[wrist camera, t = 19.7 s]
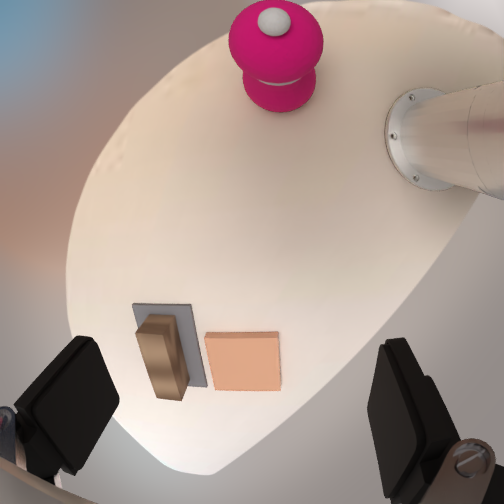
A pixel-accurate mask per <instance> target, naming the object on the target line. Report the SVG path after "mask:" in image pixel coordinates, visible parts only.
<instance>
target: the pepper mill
mask: <svg viewBox="0 0 504 504" xmlns="http://www.w3.org/2000/svg"><path fill="white" fill-rule="evenodd" d="M229 48H230V52H231V55H232V57H233V59H234V60H235V62H236V64H237V65H238V66H239V67H240V68H241V69H242V70H243V84H244V88H245V91H246V92H247V94H248V96H249V97H250V99H251V100H252V101H253V102H254V103H255V104H257V105H258V106H260V107H262V108H263V109H266V110H269V111H273V112H288V111H292V110H295V109H297V108H299V107H301V106H302V105H303V104H305V103H306V102H307V101H308V100H309V98H310V97H311V95H312V94H313V91H314V89H315V84H316V74H315V69H314V67H315V66H316V64H317V63H318V61H319V59H320V57H321V54H322V51H323V34H322V31H321V28H320V26H319V24H318V22H317V20H316V19H315V18H314V17H313V15H312V14H311V13H309V12H308V11H307V10H306V9H305V8H303V7H302V6H300V5H297V4H295V3H292V2H289V1H285V0H263V1H259V2H256V3H254V4H252V5H250V6H249V7H247V8H245V9H244V10H243V11H242V12H241V13H240V14H239V15H238V16H237V17H236V19H235V20H234V22H233V24H232V25H231V30H230V32H229Z"/></svg>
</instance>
